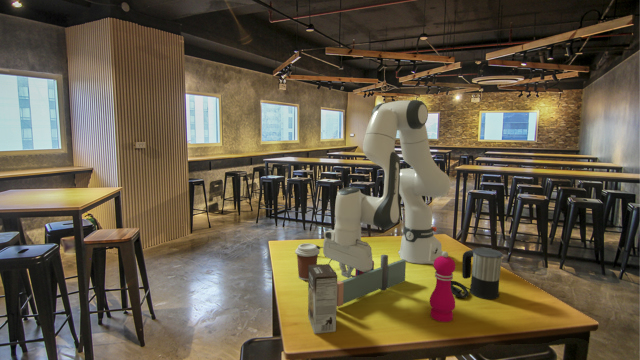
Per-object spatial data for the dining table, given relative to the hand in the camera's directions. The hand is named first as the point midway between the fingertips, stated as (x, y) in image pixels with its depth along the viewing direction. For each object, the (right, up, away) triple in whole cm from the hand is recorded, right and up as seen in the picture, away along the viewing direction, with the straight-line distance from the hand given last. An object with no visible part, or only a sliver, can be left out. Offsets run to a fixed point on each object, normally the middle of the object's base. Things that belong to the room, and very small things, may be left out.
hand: (346, 276), depth 120 cm
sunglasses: (-10, -3, +30) cm, 32 cm away
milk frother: (+43, -7, +1) cm, 44 cm away
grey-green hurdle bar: (+4, -5, -4) cm, 8 cm away
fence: (+8, -6, 0) cm, 10 cm away
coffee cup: (-14, -4, +14) cm, 20 cm away
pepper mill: (+27, -8, -14) cm, 32 cm away
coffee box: (-8, -9, -20) cm, 23 cm away
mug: (+6, -5, +12) cm, 15 cm away
